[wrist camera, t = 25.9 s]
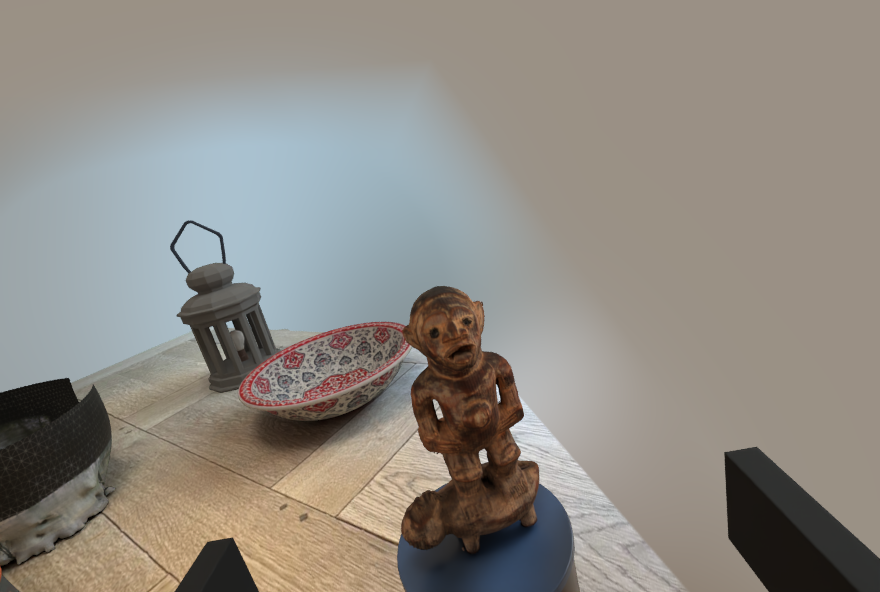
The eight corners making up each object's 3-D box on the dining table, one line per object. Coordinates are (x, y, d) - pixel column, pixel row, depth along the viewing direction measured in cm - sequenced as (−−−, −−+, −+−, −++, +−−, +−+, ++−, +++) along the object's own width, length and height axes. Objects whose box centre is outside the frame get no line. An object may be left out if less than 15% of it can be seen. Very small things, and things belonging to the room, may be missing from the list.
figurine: (405, 570, 23) (324, 329, 19) (452, 484, 29) (397, 282, 25) (521, 605, 20) (454, 324, 16) (549, 500, 26) (505, 271, 22)
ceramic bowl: (397, 344, 89) (387, 310, 87) (452, 399, 63) (440, 351, 60) (257, 397, 80) (242, 360, 78) (253, 487, 54) (230, 435, 51)
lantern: (282, 348, 105) (231, 211, 95) (291, 369, 90) (231, 209, 80) (210, 375, 98) (148, 231, 88) (208, 402, 83) (132, 232, 74)
